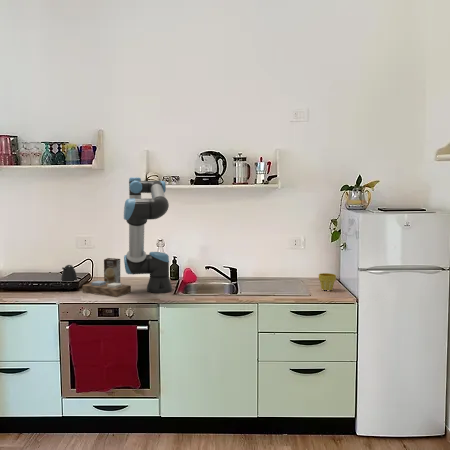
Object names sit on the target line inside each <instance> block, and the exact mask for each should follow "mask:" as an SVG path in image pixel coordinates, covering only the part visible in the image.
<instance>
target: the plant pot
mask: <svg viewBox="0 0 450 450" xmlns="http://www.w3.org/2000/svg"><path fill="white" fill-rule="evenodd" d="M336 279H337V275H336V274H335V273H328V272H327V273H326V272H323V273H321V272H320V273H319V274H318V281H319V283H320V289H323V290H332V289H333V290H334V286H335V285H334V284H335V282H336ZM323 290H322V291H323ZM333 290H332V291H333Z"/></svg>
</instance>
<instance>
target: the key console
mask: <svg viewBox="0 0 450 450" xmlns="http://www.w3.org/2000/svg"><path fill="white" fill-rule="evenodd" d="M108 284H111V283H106V284H105V285H102V286H95V285H92V282H89V283H86V284H83V285H82V293H87V294H88V293H89V294H95V295H100V296H101V295H102V296H109V297H117V298H118V297H121V296H124V295H127V294H129V293H132V285H126V284H122V286H121V287H118V288H110V287H107V285H108Z"/></svg>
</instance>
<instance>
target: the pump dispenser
mask: <svg viewBox="0 0 450 450" xmlns="http://www.w3.org/2000/svg"><path fill="white" fill-rule="evenodd" d="M61 268H62V269H61V270H62V273H61V276H60V277H61V278H60V281H61V280H62V281H74V280H77V279H78V274H77V271H76V269H75V268H74V266H73V265H72V264H67V265H65V266H64V267H61Z"/></svg>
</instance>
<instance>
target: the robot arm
mask: <svg viewBox="0 0 450 450" xmlns="http://www.w3.org/2000/svg"><path fill="white" fill-rule="evenodd" d="M128 179H129V180H128V191H129V192H128V195H129V196H128V197H129V198H126V200H125V201H124V207H123V219H124V221H126V223H127V224H128V251H127V253H126V254H125V255H124V256H123V263H124V269H125V273H126V274H127V275H145V274H146V275H148V274H149V279H148V282H147V286H146V292H149V293H151V294H162V293H169V292H172V291H173V286H172V283H171V280H170V257H169V254H168V253H165V252H161V251H150V252H149V254H147V253H146V252H145V225H146V224H147V222H148V220H158V219H159V218H161V217H163V216H164V215H165V214H166V213H167V212H168V211H169V208H170V207H169V206H170V205H169V204H170V203H169V201H168V199H167V198H166V196H165V195H166V187H167V185H166V181H165V180H142V178H141V177H129V178H128ZM142 194H150V195H151V198H142Z"/></svg>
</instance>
